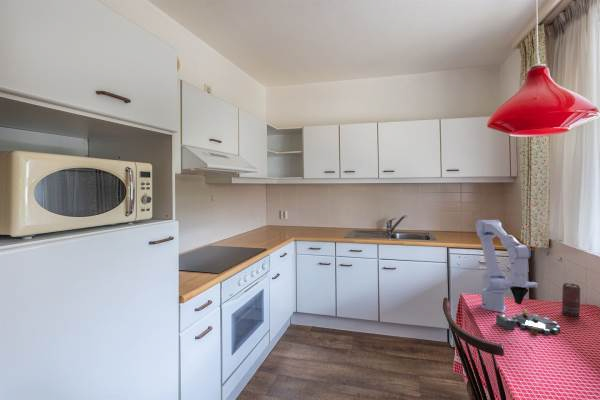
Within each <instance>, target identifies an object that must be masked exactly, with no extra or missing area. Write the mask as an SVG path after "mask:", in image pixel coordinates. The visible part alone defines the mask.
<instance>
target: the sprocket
mask: <svg viewBox="0 0 600 400" xmlns="http://www.w3.org/2000/svg"><path fill="white" fill-rule="evenodd" d="M528 311H529V310H528V309H522V314H519V313H515V315H512V319H513V320H514V321H515V326H520V328H521V329H523V330H528V331H531V327H535V328H538V331H537V333H542V334H544V335H550V334H555V335H556V334H559V332H561V326H560V325H559V324H558V322H557V321H556V320H555V321H554V320H550V318H548V317H546V316H544V317H543V316H540V315H539V314H535V313H534V314H529V313H528Z"/></svg>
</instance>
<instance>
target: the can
mask: <svg viewBox="0 0 600 400" xmlns="http://www.w3.org/2000/svg"><path fill="white" fill-rule="evenodd" d="M561 298H562V300H561V301H562V302H561V304H562V305H561V306H562V307H561V312H562V314H563V315H565V316H568V317H574V318H577V317H579V316H580V310H581V287H580V285H579V284H575V283H570V282H567V283H566V282H565V283H563V284H562V296H561Z"/></svg>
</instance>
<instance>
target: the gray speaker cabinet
mask: <svg viewBox="0 0 600 400" xmlns="http://www.w3.org/2000/svg"><path fill="white" fill-rule="evenodd" d="M495 318H496V319H495V324H496V325H498V326H499V327H500V328H502V329H503V330H505V331H515V330H516V324H515V321H514V320H513V318H512V317H510V316H508V315H507V314H502V313H500V314H496V315H495Z"/></svg>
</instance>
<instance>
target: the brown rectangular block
mask: <svg viewBox="0 0 600 400" xmlns="http://www.w3.org/2000/svg"><path fill="white" fill-rule="evenodd" d="M537 331H538V328H535V327H531V330H530V334H531V335H534V336H538V332H537Z"/></svg>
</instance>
